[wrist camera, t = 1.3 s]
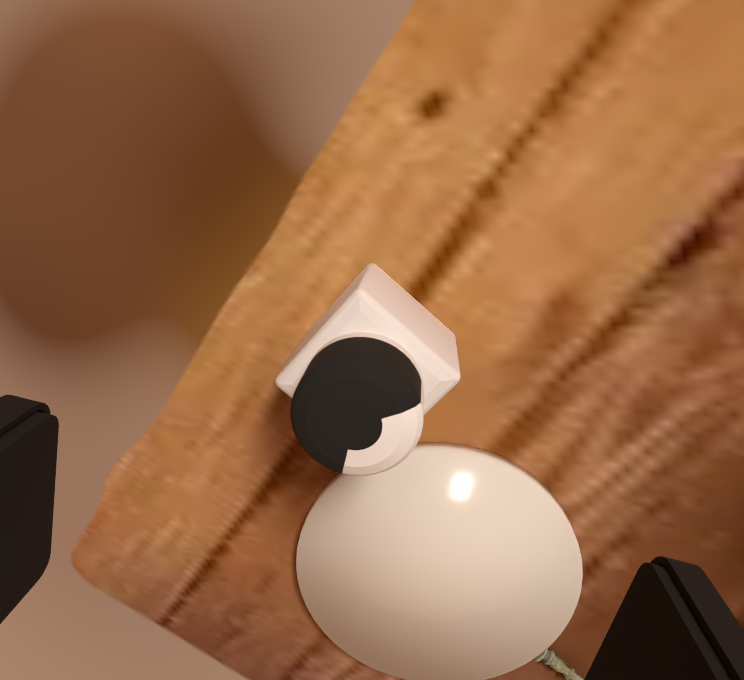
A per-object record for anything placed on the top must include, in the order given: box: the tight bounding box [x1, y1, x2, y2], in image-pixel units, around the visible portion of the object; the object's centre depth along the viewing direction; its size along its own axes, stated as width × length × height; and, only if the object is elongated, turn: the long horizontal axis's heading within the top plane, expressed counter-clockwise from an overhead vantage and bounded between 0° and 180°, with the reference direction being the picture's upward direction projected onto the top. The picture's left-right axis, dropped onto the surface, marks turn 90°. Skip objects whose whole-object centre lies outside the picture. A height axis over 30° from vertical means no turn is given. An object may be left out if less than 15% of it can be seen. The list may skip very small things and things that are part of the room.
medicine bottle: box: [275, 263, 460, 476], centre depth 31 cm, size 7×7×12 cm
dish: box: [296, 442, 583, 680], centre depth 41 cm, size 20×20×1 cm
